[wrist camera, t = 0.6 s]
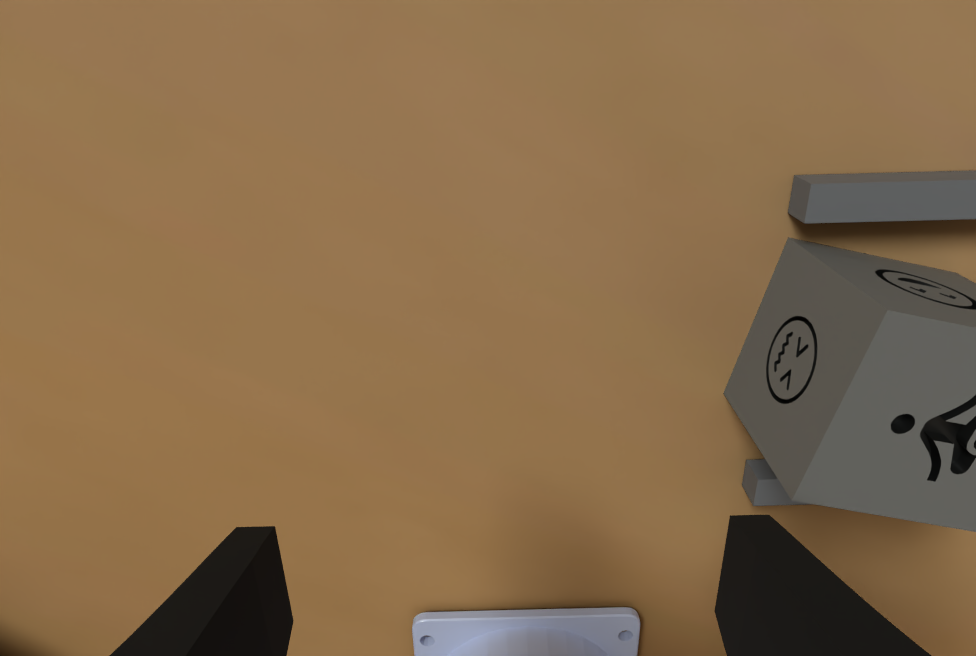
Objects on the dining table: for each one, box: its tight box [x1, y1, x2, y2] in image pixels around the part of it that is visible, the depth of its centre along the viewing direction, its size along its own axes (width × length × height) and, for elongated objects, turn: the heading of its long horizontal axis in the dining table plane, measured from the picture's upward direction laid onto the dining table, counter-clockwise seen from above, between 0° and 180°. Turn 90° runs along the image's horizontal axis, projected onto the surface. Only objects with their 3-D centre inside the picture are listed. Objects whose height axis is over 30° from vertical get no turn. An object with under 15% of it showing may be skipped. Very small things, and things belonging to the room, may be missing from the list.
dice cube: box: [723, 237, 976, 532], centre depth 17 cm, size 5×5×5 cm
